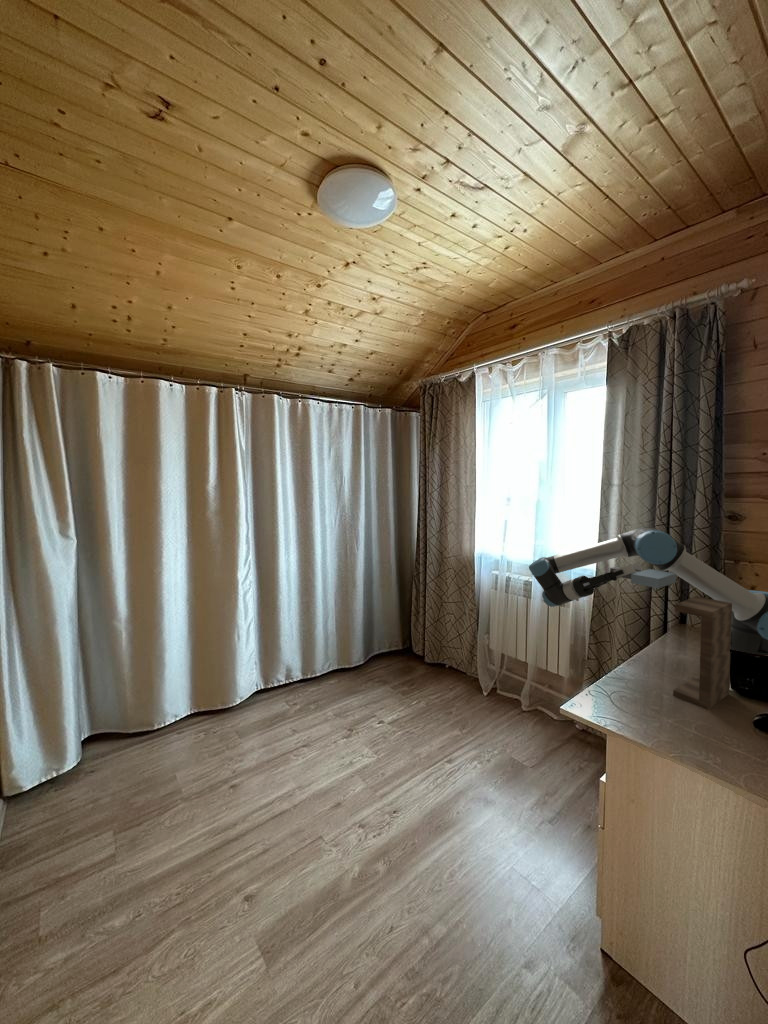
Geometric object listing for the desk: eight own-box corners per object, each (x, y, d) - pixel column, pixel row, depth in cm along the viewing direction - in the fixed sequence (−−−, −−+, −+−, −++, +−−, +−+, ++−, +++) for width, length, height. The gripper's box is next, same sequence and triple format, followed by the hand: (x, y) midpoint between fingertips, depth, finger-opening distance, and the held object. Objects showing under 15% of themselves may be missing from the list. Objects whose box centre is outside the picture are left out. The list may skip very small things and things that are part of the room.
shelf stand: (693, 681, 128) (695, 596, 126) (728, 694, 120) (732, 603, 118) (673, 695, 120) (675, 604, 118) (709, 709, 113) (712, 612, 111)
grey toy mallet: (622, 572, 144) (622, 564, 144) (676, 582, 130) (676, 573, 130) (603, 577, 138) (603, 568, 138) (658, 588, 124) (658, 578, 123)
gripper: (596, 593, 156) (654, 574, 138) (570, 601, 147) (628, 581, 128) (587, 575, 158) (643, 553, 140) (561, 581, 149) (617, 559, 131)
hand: (636, 567), depth 134 cm, fingers closed on grey toy mallet, 4 cm apart
